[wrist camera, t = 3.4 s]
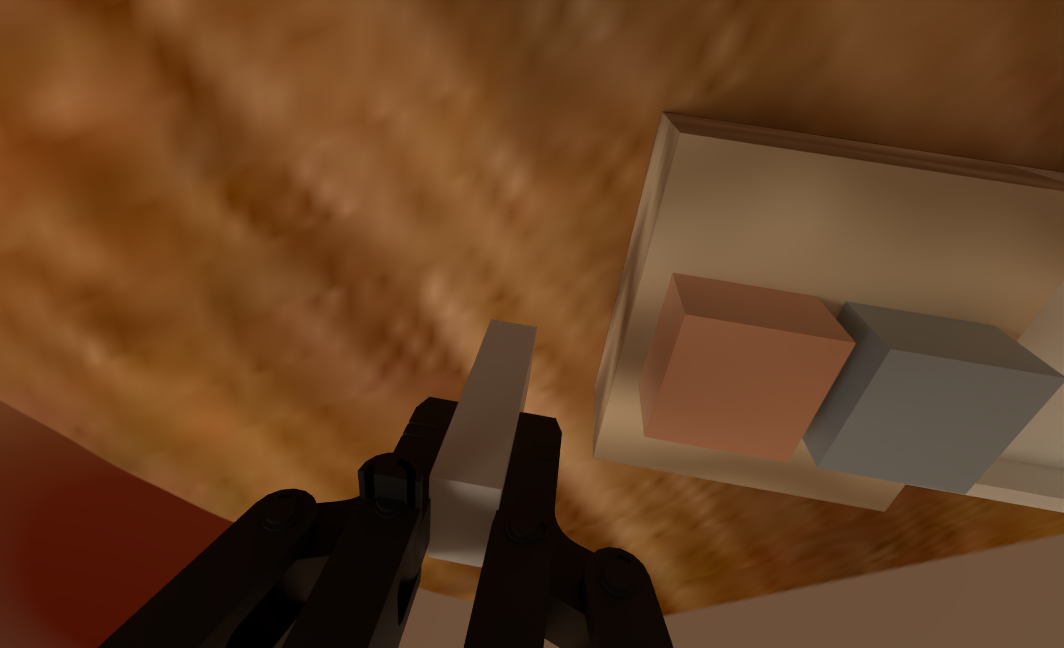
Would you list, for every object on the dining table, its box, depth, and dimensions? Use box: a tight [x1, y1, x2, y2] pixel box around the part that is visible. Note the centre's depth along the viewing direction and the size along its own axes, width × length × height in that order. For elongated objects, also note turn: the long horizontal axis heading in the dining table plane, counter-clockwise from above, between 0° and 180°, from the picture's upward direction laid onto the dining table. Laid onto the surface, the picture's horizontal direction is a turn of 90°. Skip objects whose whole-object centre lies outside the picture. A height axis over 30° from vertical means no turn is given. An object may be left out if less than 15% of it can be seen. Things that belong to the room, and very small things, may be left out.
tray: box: [907, 163, 1064, 513], centre depth 20 cm, size 14×12×3 cm
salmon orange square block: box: [638, 273, 856, 463], centre depth 17 cm, size 5×5×3 cm
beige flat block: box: [593, 112, 1064, 512], centre depth 20 cm, size 14×13×5 cm
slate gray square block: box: [802, 301, 1064, 494], centre depth 17 cm, size 5×5×3 cm
